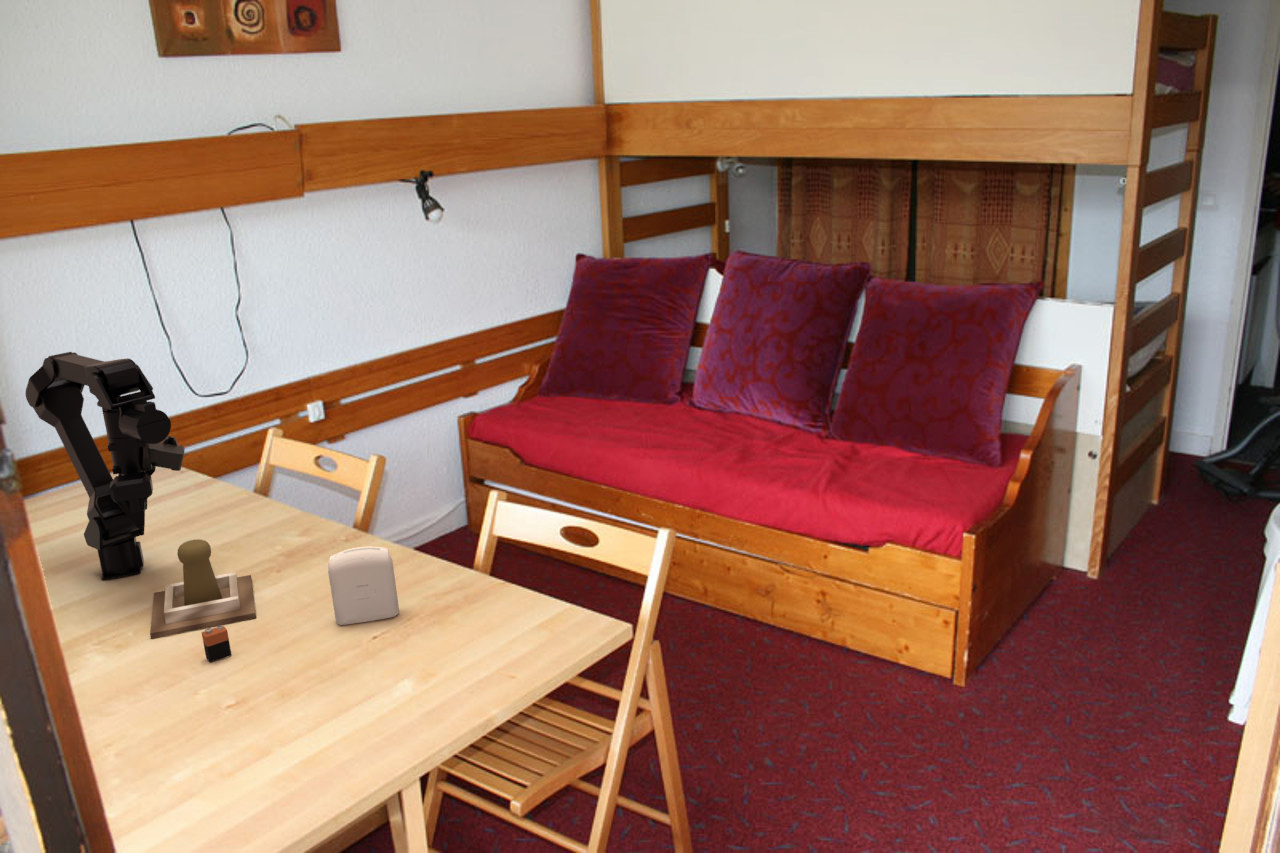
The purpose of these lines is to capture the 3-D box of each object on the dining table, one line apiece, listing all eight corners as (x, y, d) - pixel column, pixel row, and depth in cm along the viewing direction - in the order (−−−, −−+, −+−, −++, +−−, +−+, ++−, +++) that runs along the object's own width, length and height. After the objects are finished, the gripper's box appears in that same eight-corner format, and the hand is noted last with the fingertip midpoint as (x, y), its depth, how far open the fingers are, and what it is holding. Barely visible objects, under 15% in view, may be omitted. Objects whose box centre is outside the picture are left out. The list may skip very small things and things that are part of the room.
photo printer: (335, 628, 170) (325, 558, 166) (335, 616, 174) (326, 547, 170) (399, 619, 172) (391, 549, 169) (399, 607, 176) (391, 539, 173)
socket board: (151, 638, 169) (147, 622, 168) (154, 597, 183) (151, 582, 182) (256, 618, 175) (253, 601, 174) (251, 579, 189) (249, 564, 188)
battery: (205, 658, 162) (200, 629, 161) (227, 650, 164) (222, 621, 163) (210, 663, 161) (204, 634, 159) (232, 655, 163) (227, 626, 161)
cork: (228, 594, 181) (218, 535, 178) (212, 610, 176) (201, 550, 172) (194, 594, 182) (183, 535, 178) (177, 610, 176) (166, 550, 173)
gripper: (176, 442, 173) (191, 529, 178) (178, 413, 190) (192, 493, 195) (101, 452, 170) (119, 541, 174) (110, 421, 186) (126, 504, 191)
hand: (142, 518), depth 184 cm, fingers open, 9 cm apart
